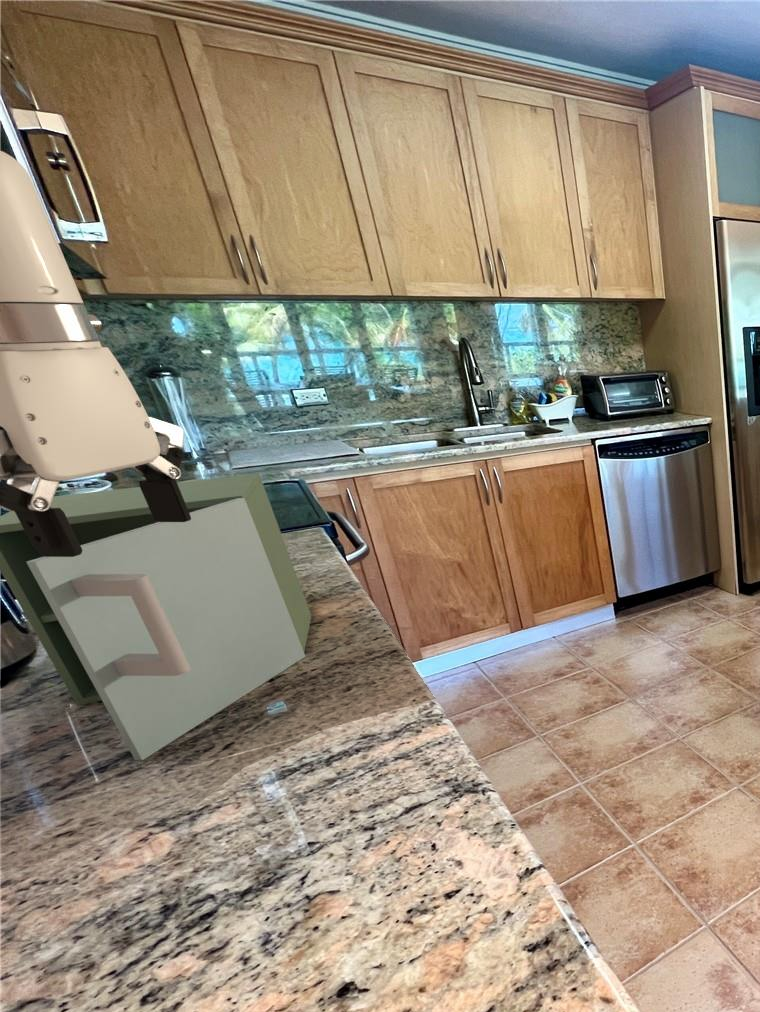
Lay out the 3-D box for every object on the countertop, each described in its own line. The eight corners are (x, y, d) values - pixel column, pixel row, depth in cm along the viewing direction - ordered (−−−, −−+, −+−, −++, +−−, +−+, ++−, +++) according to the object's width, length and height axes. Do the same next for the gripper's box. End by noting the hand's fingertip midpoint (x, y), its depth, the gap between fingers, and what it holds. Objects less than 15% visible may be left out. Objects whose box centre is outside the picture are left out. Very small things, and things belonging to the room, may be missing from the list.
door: (351, 656, 83) (295, 497, 75) (201, 761, 64) (101, 561, 55) (300, 656, 84) (238, 497, 75) (134, 760, 64) (25, 561, 55)
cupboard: (303, 655, 84) (241, 495, 76) (77, 706, 74) (-25, 528, 65) (311, 616, 96) (259, 473, 87) (117, 655, 86) (35, 498, 77)
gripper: (98, 329, 58) (174, 510, 65) (-176, 333, 43) (-37, 571, 50) (176, 328, 58) (244, 510, 65) (-72, 331, 42) (53, 572, 49)
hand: (122, 537), depth 57 cm, fingers open, 9 cm apart
